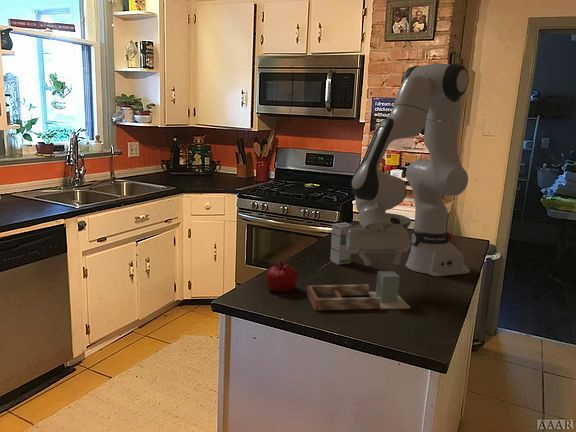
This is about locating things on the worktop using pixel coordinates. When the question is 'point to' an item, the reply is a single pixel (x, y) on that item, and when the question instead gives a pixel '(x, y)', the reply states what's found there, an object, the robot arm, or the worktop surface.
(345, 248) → the syrup box
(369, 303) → the wooden divided tray
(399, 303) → the pad
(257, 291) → the worktop surface
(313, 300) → the box
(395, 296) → the grey-green block
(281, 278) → the pomegranate
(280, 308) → the worktop surface
